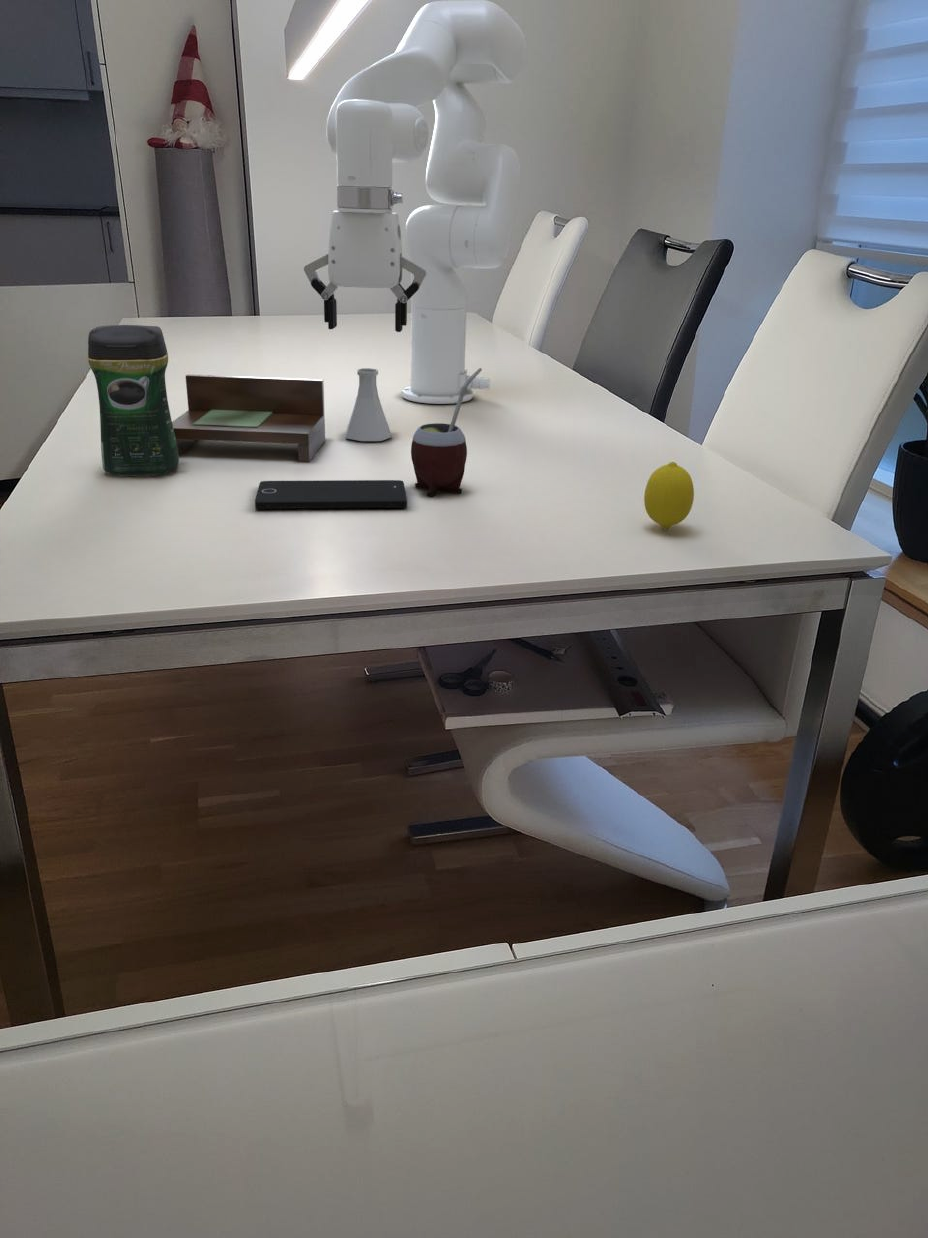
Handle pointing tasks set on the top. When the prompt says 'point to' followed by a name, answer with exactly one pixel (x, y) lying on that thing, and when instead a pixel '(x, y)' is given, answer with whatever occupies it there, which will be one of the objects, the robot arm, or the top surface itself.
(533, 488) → the top surface
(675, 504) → the lemon
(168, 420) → the coffee jar
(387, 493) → the cell phone
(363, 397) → the flask
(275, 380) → the shelf
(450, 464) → the mate gourd
